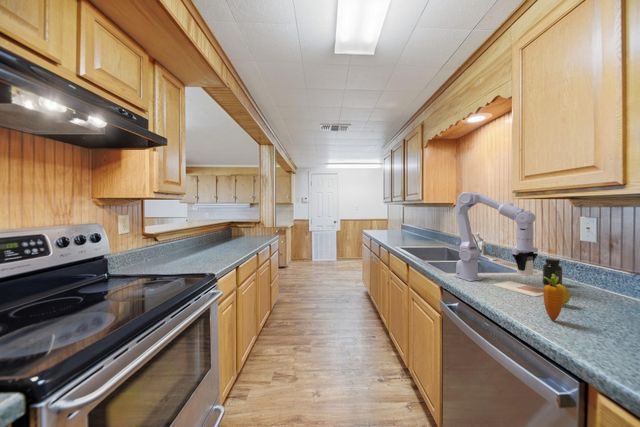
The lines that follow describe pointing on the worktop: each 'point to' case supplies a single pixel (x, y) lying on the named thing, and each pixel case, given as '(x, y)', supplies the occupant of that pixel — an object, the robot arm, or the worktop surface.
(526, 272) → the grey rectangular block
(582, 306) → the worktop surface
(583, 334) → the worktop surface
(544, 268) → the supplement bottle
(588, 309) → the worktop surface
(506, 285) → the paper sheet
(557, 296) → the carrot
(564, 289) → the lemon
